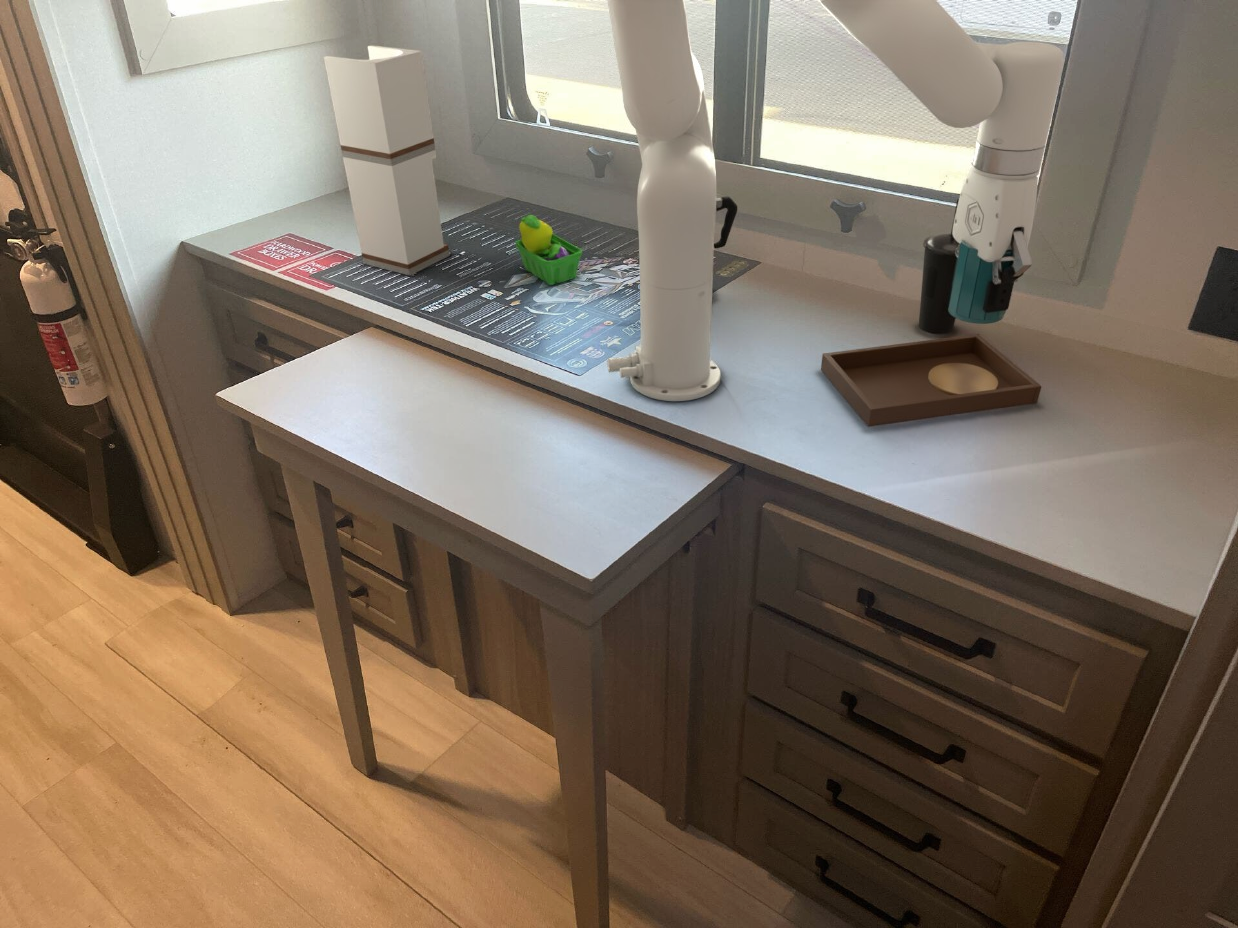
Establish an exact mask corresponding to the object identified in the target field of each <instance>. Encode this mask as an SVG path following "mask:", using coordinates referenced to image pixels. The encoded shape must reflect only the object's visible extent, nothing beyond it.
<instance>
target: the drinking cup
mask: <svg viewBox="0 0 1238 928" xmlns="http://www.w3.org/2000/svg"><path fill="white" fill-rule="evenodd" d="M958 202H959V198H957V199H956V205H955V209H954V210H955V211H954V214H953V219H952V225H951V230H950V232H942V233H938V234H933V235H930V236H927V237H925V239H924V240H923V243H922V245H923V247H924V254H923V267H922V280H921V290H920V291H921V294H920V304H919V318H918V328H919V329H920V330H922V331H923V332H925V333H929V334H933V335H945V334H949V333H951V332H952V331H953V329H954V325H955V323H956V320H957V318H955V317H953V316H952V315H951V314H950V313H949V311H948V307H949V300H950V295H951V290H952V281H953V276H954V271H955V265H956V260H957V257H956V255H955V251H956V249H957V243H956V240H955V239H954V237H953V234H952V231H953V225H954V218H955V215H956V210H957V206H958Z"/></svg>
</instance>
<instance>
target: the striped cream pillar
mask: <svg viewBox="0 0 1238 928" xmlns="http://www.w3.org/2000/svg"><path fill="white" fill-rule="evenodd" d="M367 52H368V59H358V58H357V59H356V58H348V57H341V56H340V57H339V56H332V55H325V56H323V61H324V66H325V71H326V72H325V73H326V76H327V81H328V88H329V92H330V98H331V102H332V103H331V104H332V108H333V115H334V119H335V124H336V128H337V134H338V138H339V144H340V150H341V155H342V159H343V164H344V170H345V174H346V175H345V176H346V180H347V186H348V191H349V196H350V201H351V206H352V212H353V217H354V221H355V227H356V233H357V237H358V243H359V249H360V253H361V259H362V264H364V265H368V266H371V267H375V268H379V269H381V270H386V271H390V272H395V273H397V274H402V275H406V276H413V275H414V274H416V273H418V272H420V271H422V270H424V269H426V268H429V266H432V265H434V264H436V263H437V262H440V261H441V260H444V259H446V258H448V257H450V255H451V254H450V248H449V244H446V243H445V242H444V238H443V237H444V236H443V230H442V222H441V214H440V208H439V207H440V206H439V201H438V195H437V194H438V193H437V185H436V178H435V172H434V166H433V165H434V164H433V160H435V159H437V152H436V145H435V137H434V132H433V131H434V130H433V122H432V116H431V107H430V99H429V94H428V93H429V91H428V86H427V78H426V71H425V64H424V56H423V51H422V50H417V49H408V48H398V47H392V46H391V47H390V46H382V45H381V46H380V45H368V46H367Z"/></svg>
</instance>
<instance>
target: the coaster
mask: <svg viewBox="0 0 1238 928" xmlns="http://www.w3.org/2000/svg"><path fill="white" fill-rule="evenodd" d="M928 378H929V381H930V383H931V384H932V385H933V386H935V387H936V388H938V389H939V390H941V391H944V392H946V393H949V394H952V395H957V394H965V393H972V392H979V391H987V390H994V389H997V387H998V380H997V378H996V377H995V376H994V375H993V374H992V373H991V372H989V371H987V370H985V369H983V368H981V367H978V366H974V365H970V364H964V363H946V364H941V365H938V366H936V367H934V368H932V369H931V370H930V372H929V375H928Z"/></svg>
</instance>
